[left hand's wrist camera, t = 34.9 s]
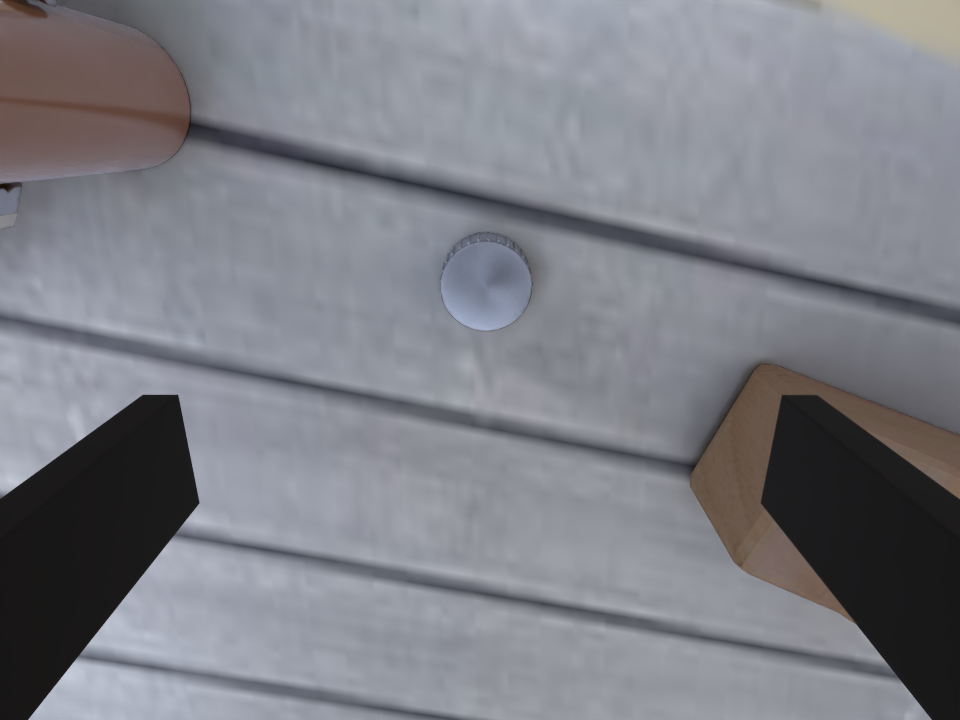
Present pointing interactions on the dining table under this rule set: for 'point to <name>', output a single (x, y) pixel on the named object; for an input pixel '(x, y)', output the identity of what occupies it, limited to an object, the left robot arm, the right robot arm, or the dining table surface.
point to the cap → (486, 282)
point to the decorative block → (744, 461)
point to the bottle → (83, 95)
